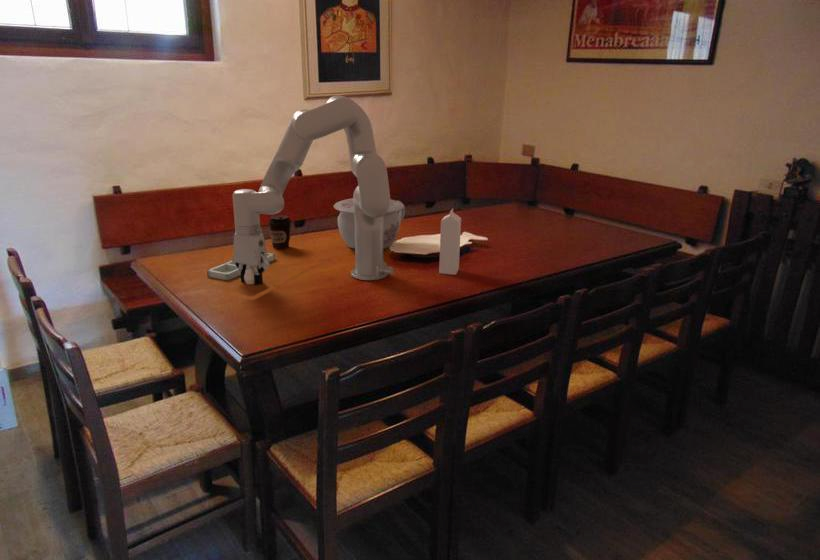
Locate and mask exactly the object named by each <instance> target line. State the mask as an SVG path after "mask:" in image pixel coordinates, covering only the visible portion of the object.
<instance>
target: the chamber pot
mask: <svg viewBox="0 0 820 560" xmlns="http://www.w3.org/2000/svg"><path fill="white" fill-rule="evenodd" d="M333 208H334V210H337V211H338V212H339V215H338V216H337V227H338V231H339V234H340V236H341V238H342V240H343V241H344V243H345V244H346V245H347V246H348V247H349V248H352V249H354V250H355V216H354V206H353V197H352V198H347V199H344V200H340V201H337V202H335V203H334V205H333ZM405 213H406V206H405V204H404V203H403V202H402V201H401V200H395V199H392V198H390V207H389V210H388V211H387V213H386V214H385V215H383V250H385V249H387V248H389V247H390V245H391V244H392V245H393V244H394V241H395V240H396V239H397V237H398V235H399V232H400V227H401V222H402V221H403V219H404V217H405V215H406V214H405ZM392 245H391V246H392Z"/></svg>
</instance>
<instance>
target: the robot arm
mask: <svg viewBox="0 0 820 560" xmlns="http://www.w3.org/2000/svg"><path fill="white" fill-rule="evenodd" d="M341 130H344V133H345V136H346V142H347V147H348V154H349V163H350V169H351V172H352V174H353V175H354V176H355V178H357V179H356V180H357V184H358V185H357V186H356V188H355V189H354V191H353V195H352V198H353V206H354V216H355V249H354V257H355V258H354V259H355V263H354V264H355V265H354V266H355V267H354V268H352V270H350V275H351V277H352V278H354V279H357V280H361V281H377V280H378V281H379V280H382V279H384V278H386V277H387V276H388V275H392V276H393V274H394V267H393V266H388V265H387V262H386V261H384V249H383V215H385V214H386V213H387V211H388V210H389V207H390V199H391V194H390V192H391V191H390V183H389V177H388V170H387V166H386V163H385V161H384V159H383V158H382V157H381V156H380V155H379V154H378V152H377V148H376V143H375V142H376V141H375V137H374V136H375V135H374V131H373V126H372V124H371V121H370V118H369V116H368V114H367V113H366V111H365V110H364V109H363V108H362V107H361V106H360V105H359V104H358V103H357V102H355V101H354V100H353V99H351V98H350V97H347V96H344V95H340V94H337V95H332V96H331V97H330V98H328V99H327V101H326V103H325V104H322V105H319V106H318V107H315V108H312V109H300V110H299V109H298V110H297V111H295V112H294V114H293V115H292V117H291V119H290V121H289V123H288V126H287V128H286V130H285V133H284V135H283V137H282V138H281V139H282V140H281V142H280V144H279V146H278V148H277V151H276V152H275V155H274V157H273V159H272V161H271V163H270V165H269V166H268V168H267V170H266V173H265V175H264V178H263V180H262V181H261V184H260V187H259V189H258V190H257V191H258V192H257V191H256V190H254V189H250V188H249V189H248V188H242V189H236V190H234V191H233V193H232V206H233V217H234V228H235V229H234V230H235V233H234V234H233V256H232V257H231V260H230V261H232V262H233V263H234V264H235V265H236V266H237V268H238V271H239V272H240V273H241V275H240V282H241V283H246V282H245V280H244V274H245V270H246V268H247V265H251V266H253V267H254V270H255V275H254V281H255V284H254V285H256V286H257V285H262V284H263V281H264V279H263V273H264V272H265V271H266V269H268V268H269V267H271V264H270V262H268V261H267V253H268V252H267V246H266V241H265V237H264V235H263V233H262V232H263V228H262V227H261V224H260V215H261V214H263V215H271V216H274V215H276V214H279V213H280V212H281V211H283V209H284V207H285V199H284V197H283V194H284V192H285V190H286V187H287V186H288V183H289V182H290V179H291V178H292V177H293V175H294V174H295V173H296V172H297V171H299V169H300V168H301V167H303V164H304V163H305V160H306V157H307V155H308V152H309V151H310V148H311V145H312V144H313V142H314V141H316V140H319V139H321V138H323V137H327V136H328V135H331V134H334V133H336V132H339V131H341ZM262 263H263V265H262Z"/></svg>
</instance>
